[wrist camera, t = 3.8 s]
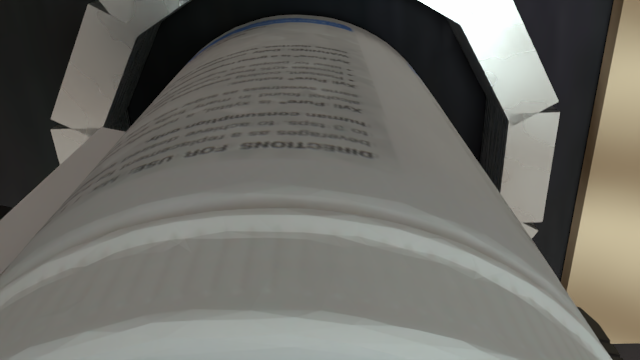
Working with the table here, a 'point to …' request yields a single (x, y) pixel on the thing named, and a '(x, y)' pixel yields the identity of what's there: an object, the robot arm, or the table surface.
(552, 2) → the table surface
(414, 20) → the table surface
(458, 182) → the supplement tub
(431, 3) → the collar
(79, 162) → the robot arm
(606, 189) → the mat
